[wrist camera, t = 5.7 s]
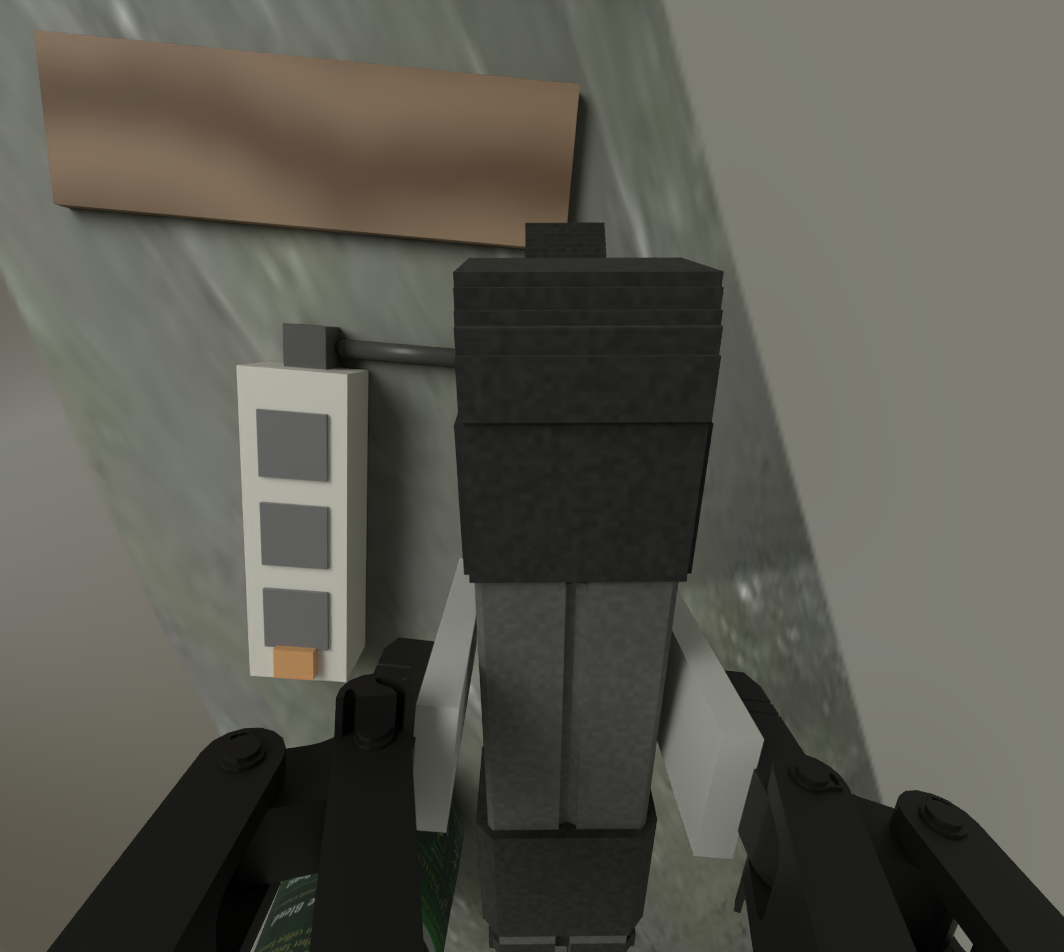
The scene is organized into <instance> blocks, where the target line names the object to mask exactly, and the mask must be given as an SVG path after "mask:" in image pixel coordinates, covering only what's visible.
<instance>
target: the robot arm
mask: <svg viewBox="0 0 1064 952" xmlns="http://www.w3.org/2000/svg"><path fill="white" fill-rule="evenodd" d="M476 645H477V619H476V602H475V584H474V583H469V575H464V567H463V558H460V559H459V562H458V566H457V569H456V572H455V576H454V579H453V582H452V586H451V589H450V592H449V596H448V599H447V603H446V606H445V609H444V613H443V616H442V619H441V623H440V626H439V629H438V633H437V636H436V639H435V642H434V641H425V640H415V639H406V638H398V639H396V640H395V641H394V642H393V643H391V644H390V645H389V646H387V647H386V648H385V649H384V651H383V653H382V656H381V658H380V660H379V662H378V665H377V667H376V669H375V671H374V673H373V674H369V675H363V676H360V677H358V678H355V679H353V680H350V681H349V682H347V683H346V684H345V685H344V686H343V687H342V688H340V690H339V692H338V695H337V697H336V711H335V735H334V737H333V738H331V739H329V740H326V741H324V742H321V743H317V744H313V745H308V746H301V747H294V748H287V749H286V747H285V743H284V740H283V738H282V737H281V736H279V735H278V734H277V733H276V732H274V731H271V730H268V729H264V728H244V729H240V730H237V731H233V732H229V733H227V734H225V735H223V736H221V737H219V738H217V739H215V740H214V741H212V742H211V743H210V744H209V745H208V746H207V747H206V748H205V749H204V750H203V751H202V752H201V753H200V754H199V756H198V757H197V758H196V760H195V761H194V762H193V763H192V765H191V766H190V767H189V768H188V770H187V771H186V772H185V774H184V775H183V776H182V777H181V779H180V780H179V781H178V783H177V784H176V785H175V787H174V788H173V789H172V790H171V792H170V793H169V794H168V796H167V797H166V798H165V800H164V801H163V802H162V803H161V805H160V806H159V807H158V809H157V810H156V811H155V812H154V814H153V815H152V817H151V818H150V819H149V820H148V821H147V823H146V824H145V825H144V827H143V828H142V829H141V831H140V832H139V833H138V834H137V836H136V837H135V838H134V839H133V841H132V842H131V843H130V845H129V846H128V847H127V849H126V850H125V851H124V852H123V854H122V855H121V857H120V858H119V859H118V860H117V861H116V863H115V864H114V865H113V867H112V868H111V869H110V871H109V872H108V873H107V874H106V876H105V877H104V878H103V879H102V881H101V882H100V884H99V885H98V886H97V887H96V889H95V890H94V891H93V892H92V894H91V895H90V896H89V898H88V899H87V900H86V901H85V903H84V904H83V905H82V907H81V908H80V909H79V910H78V912H77V913H76V914H75V916H74V917H73V918H72V920H71V921H70V922H69V923H68V925H67V926H66V927H65V929H64V930H63V931H62V932H61V934H60V935H59V936H58V938H57V939H56V940H55V942H54V943H53V944H52V945H51V947H50V948H49V949H48V951H47V952H250V951H251V949H252V947H253V944H254V942H255V940H256V938H257V935H258V933H259V931H260V929H261V926H262V924H263V922H264V920H265V917H266V915H267V913H268V911H269V909H270V906H271V904H272V902H273V899H274V897H275V895H276V893H277V891H278V888H279V886H280V884H281V881H285V880H289V879H294V878H298V877H303V876H307V875H312V874H316V873H318V880H317V888H316V896H315V905H314V913H313V922H312V930H311V938H310V947H309V952H424V939H423V923H422V907H421V891H420V874H419V858H418V842H417V830H421V831H432V832H443V833H446V830H447V824H448V817H449V811H450V805H451V799H452V793H453V787H454V781H455V774H456V768H457V762H458V756H459V750H460V744H461V737H462V731H463V725H464V719H465V713H466V707H467V701H468V694H469V688H470V682H471V676H472V670H473V664H474V657H475V651H476ZM657 741H658V744H659V748H660V751H661V754H662V757H663V760H664V763H665V767H666V770H667V773H668V776H669V779H670V782H671V786H672V789H673V792H674V795H675V798H676V801H677V805H678V808H679V811H680V814H681V817H682V820H683V824H684V827H685V830H686V833H687V836H688V839H689V842H690V846H691V849H692V852H693V855H694V856H703V857H713V858H724V859H733V855H734V851H735V847H736V844H737V840H738V836H739V835H740V838H741V840H742V842H743V845H744V847H745V849H746V852H747V854H748V855H747V859H746V863H745V866H744V870H743V874H742V877H741V881H740V885H739V888H738V892H737V896H736V899H735V907H734V911H735V912H738V913H740V912H741V909H742V905H743V902H744V900H745V899H746V905H747V912H748V919H749V926H750V933H751V940H752V947H753V952H966V951H965V950H964V949H963V948H962V947H961V946H960V944H959V943H958V942H957V940H956V939H955V937H954V936H953V935H954V933H955V930H956V928H957V926H958V924H959V925H960V927H961V928H962V930H963V931H964V932H965V934H966V935H967V937H968V938H969V939H970V941H971V942H972V943H973V946H972V949H971V951H970V952H1064V917H1063V916H1062V915H1061V914H1060V912H1059V911H1058V910H1057V909H1056V908H1055V907H1054V906H1053V905H1052V904H1051V902H1050V901H1049V900H1048V899H1047V898H1046V897H1045V896H1044V895H1043V894H1042V893H1041V892H1040V890H1039V889H1038V888H1037V887H1036V886H1035V885H1034V884H1033V883H1032V882H1031V881H1030V880H1029V878H1028V877H1027V876H1026V875H1025V874H1024V873H1023V872H1022V871H1021V870H1020V869H1019V867H1018V866H1017V865H1016V864H1015V863H1014V862H1013V861H1012V860H1011V859H1010V858H1009V857H1008V856H1007V854H1006V853H1005V852H1004V851H1003V850H1002V849H1001V848H1000V847H999V846H998V845H997V843H996V842H995V841H994V840H993V839H992V838H991V837H990V836H989V835H988V834H987V833H986V831H985V830H984V829H983V828H982V827H981V826H980V825H979V824H978V823H977V822H976V821H975V820H974V819H973V818H971V817H970V816H969V815H968V814H967V813H966V812H965V811H963V810H961V809H960V808H958V807H957V806H955V805H954V804H952V803H951V802H949V801H948V800H945V799H943V798H940V797H939V796H936V795H933V794H931V793H926V792H922V791H918V790H913V791H905V792H903V793H902V794H901V795H900V796H899V797H898V800H897V803H896V806H895V809H894V808H891V807H888V806H885V805H882V804H879V803H876V802H873V801H870V800H867V799H864V798H861V797H858V796H856V795H853V794H851V791H850V789H849V787H848V786H847V784H846V783H845V781H844V780H843V778H842V777H841V776H840V775H839V774H838V773H837V772H835V771H834V770H833V769H832V768H831V767H829V766H828V765H826V764H824V763H823V762H821V761H819V760H818V759H815V758H813V757H810V756H807V755H805V754H804V752H803V751H802V749H801V747H800V746H799V744H798V743H797V741H796V740H795V738H794V737H793V735H792V734H791V732H790V731H789V729H788V728H787V726H786V725H785V723H784V722H783V720H782V719H781V717H779V716H778V712H777V711H776V709H775V708H774V706H773V705H772V704H770V700H769V699H768V697H767V696H766V694H765V693H764V691H763V690H762V688H761V686H759V685H758V684H757V683H756V682H754V681H753V680H752V679H751V678H750V677H748V676H747V675H746V674H745V673H743V672H734V671H724V669H723V667H722V666H721V664H720V662H719V661H718V659H717V657H716V655H715V654H714V652H713V650H712V648H711V647H710V645H709V643H708V642H707V640H706V638H705V636H704V635H703V633H702V631H701V630H700V628H699V626H698V624H697V623H696V621H695V619H694V617H693V616H692V614H691V612H690V611H689V609H688V607H687V605H686V604H685V602H684V600H683V598H682V597H681V595H680V593H679V592H678V590H677V597H676V604H675V611H674V619H673V626H672V634H671V641H670V648H669V656H668V663H667V670H666V678H665V685H664V692H663V700H662V707H661V714H660V722H659V729H658V736H657Z"/></svg>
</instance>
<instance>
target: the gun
mask: <svg viewBox="0 0 1064 952" xmlns="http://www.w3.org/2000/svg"><path fill="white" fill-rule="evenodd" d="M723 272H724V271H720V270H717V269H714V268H711V267H708V266H705V265H702V264H699V263H696V262H693V261H690V260H687V259H684V258H606V243H605V228H604V223H525V258H469V259H468V260H466V261H465V262H464V263H463V264H462V265H461V266H460V267H459V268H457V269H456V270H455V271H454V272H453V278H454V288H453V293H454V324H455V326H454V339H455V370H456V386H457V402H458V415H457V418H456V421H455V424H454V431H455V446H456V461H457V477H458V492H459V507H460V522H461V537H462V552H463V567H464V575H469V583H474V584H475V602H476V619H477V637H478V655H479V672H480V690H481V708H482V725H483V743H484V747H482V757H481V769H480V781H479V794H478V806H477V818H476V824H477V838H478V853H479V867H480V881H481V895H482V909H483V919H485V920H486V922H487V923H488V924H489V946H490V948H495V950H496V951H497V952H555V946H567V952H626V951H627V950H628V948H629V947H630V946H634V943H635V936H636V933H635V926H636V925H637V923H638V922H639V920H640V919H641V917H643V910H644V904H645V897H646V890H647V883H648V877H649V870H650V863H651V857H652V850H653V843H654V837H655V830H656V823H657V816H656V811H655V807H654V802H653V797H652V793H651V781H652V773H653V766H654V758H655V751H656V744H657V736H658V729H659V722H660V714H661V707H662V700H663V692H664V685H665V678H666V670H667V663H668V656H669V648H670V641H671V634H672V626H673V619H674V611H675V604H676V597H677V589H678V582H686V581H687V574H688V573H691V572H692V565H693V558H694V551H695V545H696V538H697V531H698V524H699V517H700V511H701V504H702V497H703V490H704V483H705V477H706V470H707V463H708V456H709V449H710V443H711V436H712V429H713V423H712V416H713V409H714V402H715V395H716V388H717V381H718V374H719V367H720V361H721V356H720V355H719V351H720V344H721V337H722V330H723V326H722V325H721V320H722V313H723V310H721V303H722V296H723V289H724V287H722V279H723Z"/></svg>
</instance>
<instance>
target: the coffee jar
mask: <svg viewBox="0 0 1064 952" xmlns="http://www.w3.org/2000/svg"><path fill="white" fill-rule="evenodd" d="M417 842H418V858H419V874H420V891H421V907H422V923H423V939H424V952H444V946H445V940H446V934H447V928H448V923H449V917H450V911H451V906H452V901H453V895H454V890H455V885H456V880H457V874H458V869H459V863H460V857H461V850H462V842H463V827H462V823H461V820H460V816H459V814H458V811H457V808H456V805H455V803H454V800H453V798H452V799H451V805H450V811H449V817H448V824H447V830H446V833H443V832H432V831H421V830H417ZM317 880H318V873H316V874H312V875H307V876H303V877H298V878H294V879H289V880H285V881H282V883H281V885H280V888H279V890H278V893H277V895H276V898H275V900H274V903H273V905H272V908H271V910H270V913H269V915H268V918H267V920H266V923H265V926H264V928H263V931H262V933H261V936H260V938H259V941H258V944H257V946H256V948H255V951H254V952H309V947H310V938H311V930H312V922H313V913H314V905H315V896H316V888H317Z"/></svg>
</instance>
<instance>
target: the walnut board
mask: <svg viewBox="0 0 1064 952" xmlns="http://www.w3.org/2000/svg"><path fill="white" fill-rule="evenodd" d="M34 35H35V43H36V52H37V61H38V70H39V78H40V87H41V96H42V105H43V113H44V122H45V131H46V140H47V148H48V157H49V166H50V175H51V183H52V192H53V201H54V204H56V205H60V206H63V207H67V208H76V209H87V210H98V211H109V212H120V213H132V214H143V215H154V216H165V217H176V218H187V219H198V220H209V221H220V222H231V223H242V224H253V225H264V226H275V227H286V228H297V229H308V230H319V231H330V232H341V233H352V234H363V235H374V236H385V237H396V238H407V239H418V240H429V241H440V242H451V243H462V244H474V245H485V246H496V247H507V248H518V249H525V223H567V219H568V208H569V197H570V186H571V175H572V165H573V154H574V143H575V132H576V121H577V110H578V99H579V88H580V84H571V83H561V82H551V81H541V80H531V79H521V78H510V77H500V76H490V75H480V74H470V73H460V72H450V71H440V70H430V69H420V68H410V67H400V66H390V65H379V64H369V63H359V62H349V61H339V60H329V59H319V58H309V57H299V56H289V55H279V54H269V53H258V52H248V51H238V50H228V49H218V48H208V47H198V46H188V45H178V44H168V43H158V42H148V41H138V40H127V39H117V38H107V37H97V36H87V35H77V34H67V33H57V32H47V31H37V30H34Z"/></svg>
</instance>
